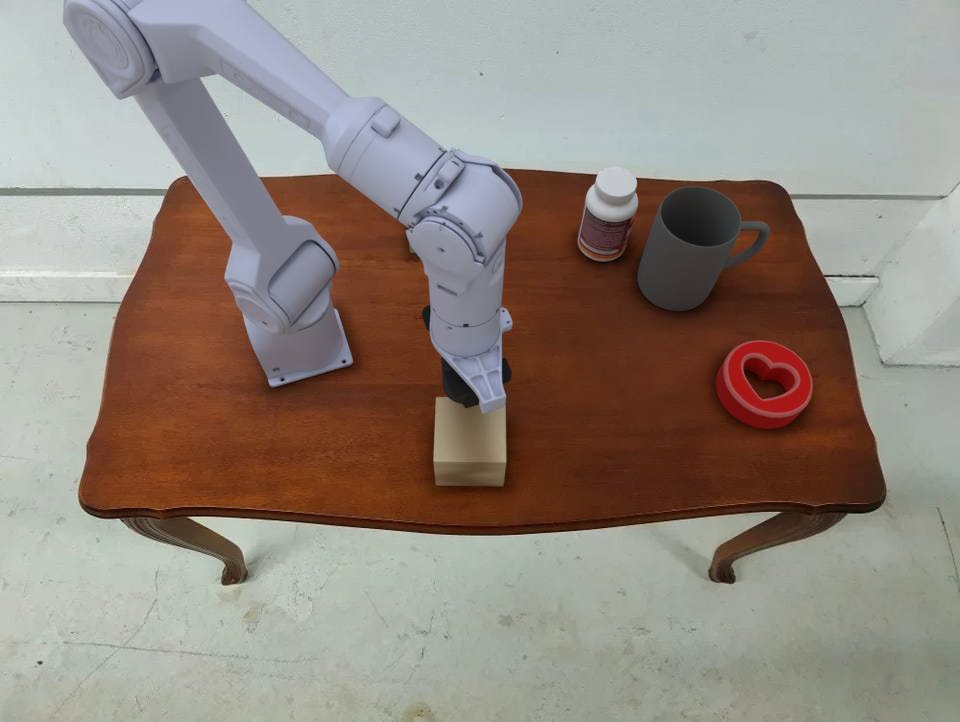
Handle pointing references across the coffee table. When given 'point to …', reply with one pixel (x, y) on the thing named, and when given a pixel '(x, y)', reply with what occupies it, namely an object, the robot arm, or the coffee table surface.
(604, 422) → the coffee table surface
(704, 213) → the mug
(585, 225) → the pill bottle
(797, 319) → the coffee table surface
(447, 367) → the pad plug
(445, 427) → the stand
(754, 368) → the decorative ornament
